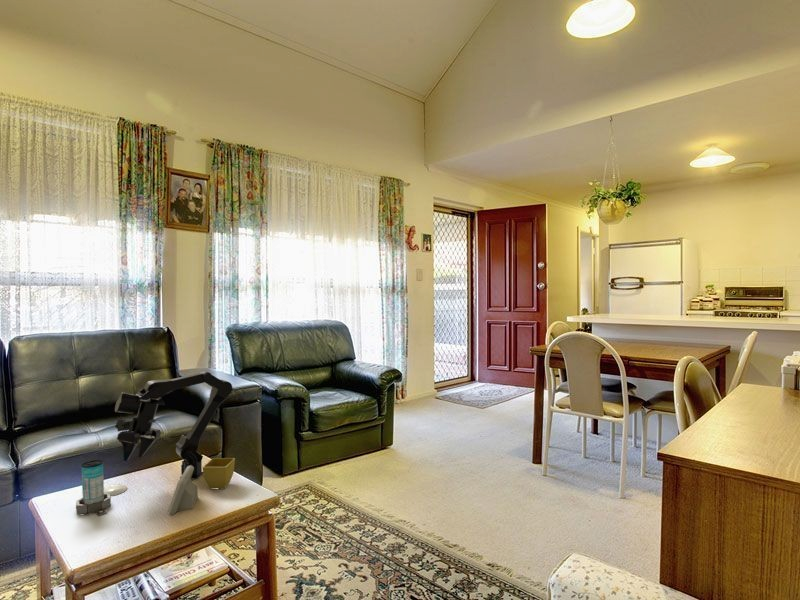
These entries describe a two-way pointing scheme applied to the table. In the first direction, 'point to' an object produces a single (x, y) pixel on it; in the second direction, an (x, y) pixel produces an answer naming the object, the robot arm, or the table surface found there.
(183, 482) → the digital clock
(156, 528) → the table surface
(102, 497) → the beverage can
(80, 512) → the eye ring
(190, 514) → the table surface
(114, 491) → the dome ceiling light
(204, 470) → the flower pot
